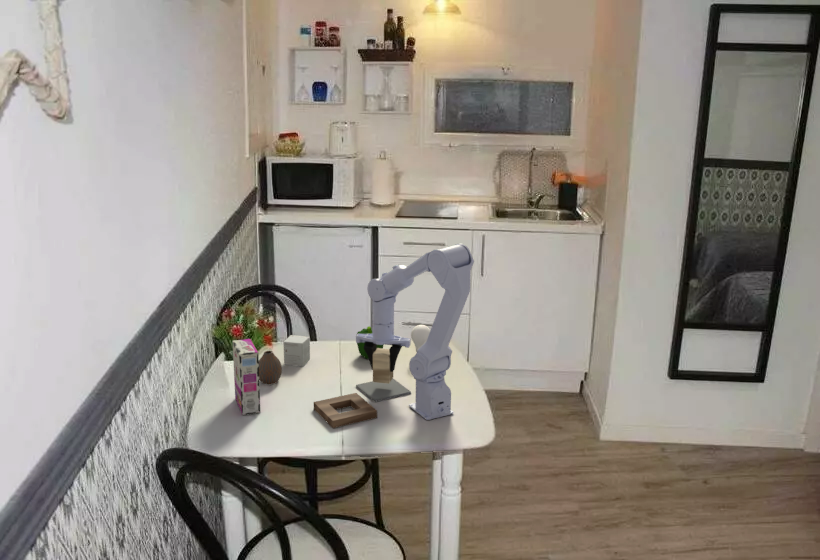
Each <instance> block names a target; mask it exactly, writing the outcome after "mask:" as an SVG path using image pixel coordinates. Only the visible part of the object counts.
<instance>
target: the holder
mask: <svg viewBox="0 0 820 560" xmlns="http://www.w3.org/2000/svg"><path fill="white" fill-rule="evenodd" d="M345 408H352V410H348V411H344V412H338V410H341V409H345ZM313 410H314V411H315V412H316V413H317V414H318V415H319V416H320V417H321V419H323V420H324V421H325V422H326V421H327V422H328V423H327V422H326V423H327V424H328V425H329V426H330V428H332V429H335V428H341V427H344V426H348V425H352V424H356V423H357V424H358V423H361V422H365V421H370V420H375V419H378V410H377V409H376V408H375V407H374V406H372V404H370V403H369V402H368V401H367V400H365V399H364V398H363V397H362V396H361V395H360V394H358V393H357V392H353V393H350V394H345V395H344V394H343V395H340V396H335V397H331V398H326V399H321V400H317V401H313Z"/></svg>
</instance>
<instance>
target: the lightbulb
mask: <svg viewBox="0 0 820 560" xmlns="http://www.w3.org/2000/svg"><path fill="white" fill-rule="evenodd" d="M430 330H431V328H429V327H428V325H424V324H418V325H416V326H414V327H413V328H412V330H411V332H410V339H411V340H412V342H413V344H414V347H415V353H417V350H418V349H419V348H420V347H421V346H422V345H423V344H424V343H425V342H426V341H427V338H428V336H429V333H430Z"/></svg>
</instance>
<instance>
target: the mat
mask: <svg viewBox="0 0 820 560" xmlns="http://www.w3.org/2000/svg"><path fill="white" fill-rule="evenodd" d="M355 387H356V388H357V390H360V392H362V394H364V395H365V396H366V397H368V399H370V400H371V401H373V403H376V401H377V402H380V401H386V400H389V399H394V398H399V397H403V396H407V395H412V391H410V389H408V388H407V387H405V385H403V384H402V383H400V382H399V381H397V380H396V379H395V378H394V377H393V378H392V380H391V382H390V383H389V384H387V383H378V382H373V380H372V381H369V382H368V381H367V382H364V383H359V384H356V385H355ZM402 395H403V396H402ZM398 396H399V397H398Z"/></svg>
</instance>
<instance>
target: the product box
mask: <svg viewBox="0 0 820 560" xmlns="http://www.w3.org/2000/svg"><path fill="white" fill-rule="evenodd" d="M310 342H311V338H310V336H303V335H295V334H291V335H288V337H287V338H286V339H285V340H284V341H283V365H285V366H295V367H304V366H306V364H307V363H308V362H309V361H310V359H311V343H310Z"/></svg>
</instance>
